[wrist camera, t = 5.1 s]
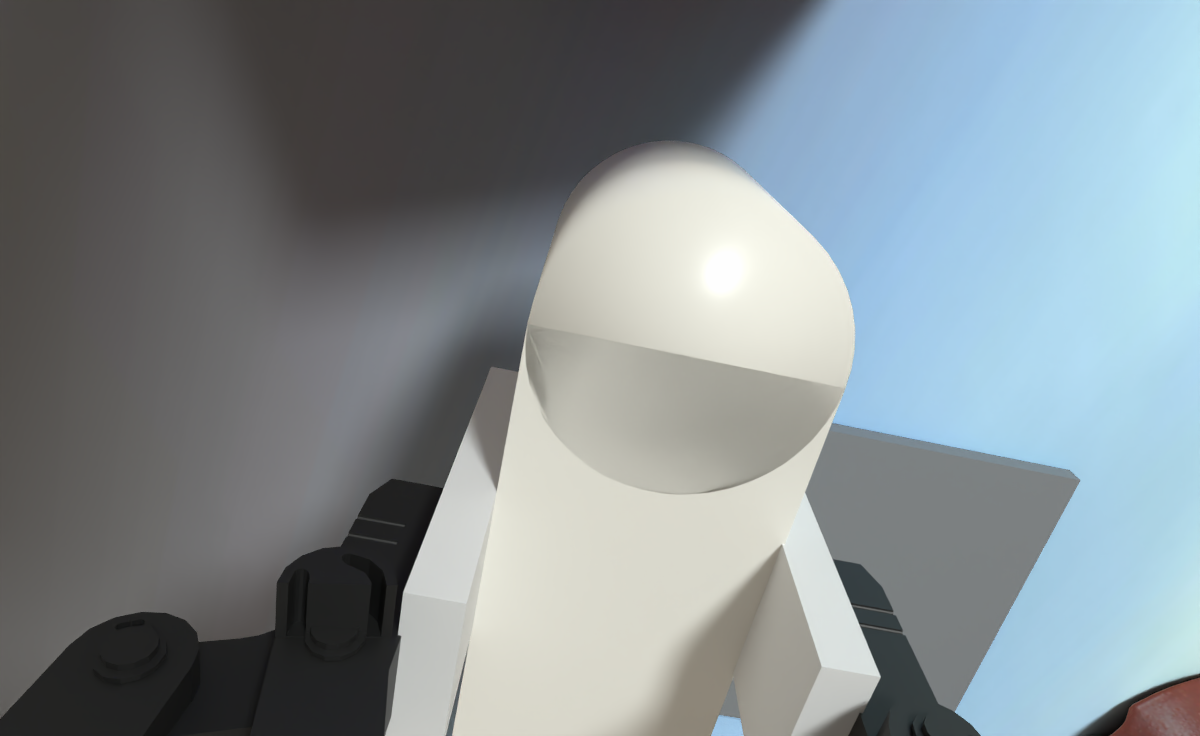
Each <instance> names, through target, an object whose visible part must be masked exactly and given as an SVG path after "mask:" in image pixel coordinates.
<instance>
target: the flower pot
mask: <svg viewBox="0 0 1200 736" xmlns="http://www.w3.org/2000/svg"><path fill="white" fill-rule="evenodd" d="M1110 736H1200V678H1196V679H1193V680H1190V681H1186V682H1183V683H1180V684H1177V685H1174V686H1171V687H1169V688H1166V689H1164V690H1161V691H1159V692H1156V693H1154V694H1152V695H1150V696H1148V697H1146V698H1144V699H1142V700H1140V701H1138V702H1136V703H1134V704H1133V705H1132V706H1131V707H1130V708H1129V710H1128V714H1127V717H1126V720H1125V722H1124V723H1123V724H1122V726H1121V727H1120V728H1118V729H1117V730H1116V731H1115V732H1114V733H1113V734H1111V735H1110Z"/></svg>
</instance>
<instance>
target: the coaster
mask: <svg viewBox="0 0 1200 736" xmlns="http://www.w3.org/2000/svg"><path fill="white" fill-rule="evenodd" d="M1079 482H1080V479H1078V478H1077V477H1076V476H1075V475H1074V474H1073V473H1072V472H1071V471H1070V470H1066V469H1061V468H1055V467H1050V466H1045V465H1040V464H1035V463H1030V462H1025V461H1020V460H1015V459H1010V458H1005V457H1000V456H995V455H990V454H985V453H980V452H975V451H970V450H965V449H960V448H955V447H949V446H944V445H939V444H934V443H929V442H924V441H919V440H914V439H909V438H904V437H899V436H894V435H889V434H884V433H879V432H874V431H869V430H864V429H859V428H854V427H849V426H843V425H838V424H833V423H832V424H831V427H830V429H829V432H828V434H827V437H826V439H825V442H824V445H823V447H822V450H821V452H820V455H819V458H818V460H817V463H816V465H815V468H814V470H813V473H812V476H811V478H810V481H809V483H808V486H807V489H806V491H805V494H806V496H807V499H808V501H809V503H810V506H811V508H812V511H813V513H814V516H815V518H816V520H817V523H818V525H819V528H820V530H821V533H822V535H823V537H824V540H825V542H826V545H827V547H828V550H829V552H830V555H831V557H832V559H835V560H841V561H846V562H851V563H857V564H861V565H862V566H863V567H864V568H865V569H866V570H867V571H868V572H869V573H870V575H871V576H872V577H873V578H874V579H875V580H876V581H877V582H878V583H879V584H880V585H881V586H882V588H883V590H884V592H885V594H886V596H887V598H888V600H889V602H890V604H891V606H892V608H893V610H894V611H893V615H896V617H897V619H898V621H899V623H900V625H901V627H902V629H903V635H906V637H907V640H908V642H909V644H910V646H911V648H912V650H913V652H914V654H915V656H916V658H917V660H918V662H919V664H920V667H921V669H922V671H923V673H924V675H925V677H926V679H927V681H928V683H929V685H930V687H931V689H932V691H933V694H934V696H935V698H936V700H937V702H938V704H940V705H942V706H944V707H946V708H948V709H950V710H952V711H954V712H955V710H956V708H957V706H958V704H959V703H960V701H961V699H962V697H963V695H964V693H965V692H966V690H967V688H968V686H969V684H970V682H971V681H972V679H973V677H974V675H975V673H976V671H977V670H978V668H979V666H980V664H981V662H982V660H983V658H984V657H985V655H986V653H987V651H988V649H989V647H990V646H991V644H992V642H993V640H994V638H995V636H996V635H997V633H998V631H999V629H1000V627H1001V625H1002V624H1003V622H1004V620H1005V618H1006V616H1007V614H1008V612H1009V611H1010V609H1011V607H1012V605H1013V603H1014V601H1015V600H1016V598H1017V596H1018V594H1019V592H1020V590H1021V589H1022V587H1023V585H1024V583H1025V581H1026V579H1027V578H1028V576H1029V574H1030V572H1031V570H1032V568H1033V566H1034V565H1035V563H1036V561H1037V559H1038V557H1039V555H1040V554H1041V552H1042V550H1043V548H1044V546H1045V544H1046V543H1047V541H1048V539H1049V537H1050V535H1051V533H1052V532H1053V530H1054V528H1055V526H1056V524H1057V522H1058V520H1059V519H1060V517H1061V515H1062V513H1063V511H1064V509H1065V508H1066V506H1067V504H1068V502H1069V500H1070V498H1071V497H1072V495H1073V493H1074V491H1075V489H1076V487H1077V486H1078V484H1079ZM719 715H724V716H730V717H736V718H741V717H740V712H739V706H738V701H737V695H736V689H735V684H734V678H733V680H732V682H731V685H730V687H729V690H728V692H727V695H726V698H725V700H724V703H723V705H722V708H721V711H720V713H719Z"/></svg>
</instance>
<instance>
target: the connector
mask: <svg viewBox="0 0 1200 736" xmlns="http://www.w3.org/2000/svg"><path fill="white" fill-rule="evenodd" d="M854 350H855V325H854V317H853V309H852V305H851V302H850V298H849V294H848V291H847V288H846V286H845V284H844V281H843V279H842V277H841V274H840V272H839V270H838V269H837V267H836V265H835V264H834V262H833V261H832V259H831V258H830V256H829V254H828V253H827V252H826V251H825V249H824V248H823V247H822V246H821V245H820V244H819V243H818V241H817V240H816V239H815V238H814V237H813V236H812V235H811V234H810V233H809V232H808V231H807V230H806V229H805V228H804V227H803V226H802V225H801V224H800V223H799V222H798V221H797V220H796V219H795V218H794V217H793V216H792V215H791V214H789V213H788V212H787V211H786V210H785V209H784V208H783V207H782V206H781V205H780V204H779V203H778V202H777V201H776V200H775V199H774V198H773V197H772V196H771V195H770V194H769V193H768V192H767V191H766V190H765V189H764V188H763V187H762V186H761V185H760V184H759V183H757V182H756V181H755V180H754V179H753V178H752V177H751V176H750V175H749V174H748V173H747V172H746V171H745V170H744V169H743V168H741V167H740V166H739V165H738V164H737V163H736V162H734V161H733V160H731V159H730V158H728V157H726V156H725V155H723V154H721V153H719V152H717V151H715V150H713V149H711V148H708V147H705V146H702V145H698V144H695V143H690V142H683V141H655V142H647V143H643V144H639V145H635V146H632V147H629V148H627V149H624V150H622V151H619V152H617V153H615V154H614V155H612V156H610V157H608V158H607V159H605V160H603V161H602V162H601V163H599V164H598V165H597V166H596V167H594V168H593V169H592V170H591V171H590V172H589V173H588V174H587V175H586V176H585V177H584V178H583V179H582V180H581V181H580V182H579V183H578V185H577V186H576V187H575V189H574V190H573V191H572V193H571V194H570V196H569V198H568V200H567V201H566V203H565V205H564V207H563V209H562V212H561V214H560V217H559V219H558V222H557V226H556V229H555V232H554V235H553V239H552V242H551V245H550V249H549V252H548V255H547V258H546V262H545V265H544V268H543V271H542V275H541V278H540V281H539V284H538V288H537V291H536V294H535V297H534V301H533V304H532V308H531V312H530V316H529V320H528V323H527V329H526V334H525V340H524V345H523V351H522V356H521V362H520V367H519V373H518V378H517V384H516V389H515V395H514V400H513V405H512V411H511V416H510V422H509V427H508V433H507V438H506V444H505V449H504V455H503V460H502V466H501V471H500V477H499V482H498V488H497V493H496V499H495V504H494V510H493V516H492V521H491V527H490V532H489V538H488V544H487V549H486V555H485V560H484V566H483V572H482V577H481V583H480V588H479V594H478V600H477V605H476V611H475V616H474V622H473V628H472V632H471V636H470V641H469V646H468V652H467V657H466V663H465V668H464V674H463V679H462V685H461V690H460V696H459V701H458V706H457V712H456V717H455V723H454V728H453V734H452V736H711V734H712V731H713V729H714V726H715V723H716V721H717V718H718V716H719V713H720V711H721V708H722V705H723V703H724V700H725V698H726V695H727V692H728V690H729V687H730V685H731V682H732V680H733V672H734V669H735V666H736V664H737V661H738V658H739V656H740V653H741V651H742V648H743V645H744V643H745V640H746V637H747V635H748V632H749V630H750V627H751V624H752V622H753V619H754V616H755V614H756V611H757V609H758V606H759V603H760V601H761V598H762V596H763V593H764V590H765V588H766V585H767V582H768V580H769V577H770V575H771V572H772V569H773V567H774V564H775V561H776V559H777V556H778V554H779V551H780V548H781V546H782V544H785V543H786V540H787V538H788V535H789V532H790V530H791V527H792V525H793V522H794V519H795V517H796V514H797V512H798V509H799V507H800V504H801V501H802V499H803V496H804V494H805V491H806V489H807V486H808V483H809V481H810V478H811V476H812V473H813V470H814V468H815V465H816V463H817V460H818V458H819V455H820V452H821V450H822V447H823V445H824V442H825V439H826V437H827V434H828V432H829V429H830V427H831V424H832V421H833V419H834V416H835V414H836V411H837V408H838V406H839V403H840V401H841V398H842V396H843V393H844V390H845V388H846V385H847V381H848V378H849V375H850V372H851V368H852V362H853V356H854Z"/></svg>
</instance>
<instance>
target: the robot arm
mask: <svg viewBox="0 0 1200 736" xmlns="http://www.w3.org/2000/svg"><path fill="white" fill-rule="evenodd" d="M518 373H519V372H517V371H512V370H506V369H501V368H496V367H491V368H490V371H489V373H488V376H487V378H486V381H485V384H484V386H483V389H482V391H481V394H480V396H479V399H478V402H477V404H476V407H475V409H474V412H473V414H472V417H471V420H470V422H469V425H468V427H467V430H466V432H465V435H464V438H463V440H462V443H461V445H460V448H459V450H458V453H457V456H456V458H455V461H454V463H453V466H452V468H451V471H450V474H449V476H448V479H447V481H446V484H445V486H444V488H439V487H433V486H428V485H423V484H417V483H412V482H406V481H401V480H396V479H391V480H389V481H388V482H387V483H385V484H384V485H382V486H381V487H379V488H378V489H377V490H375V491H374V492H372V493H371V494H369V496H368V498H367V500H366V502H365V504H364V505H363V507H362V509H361V511H360V513H359V515H358V518H357V519H356V520H355V522H354V524H353V526H352V527H351V529H350V531H349V534H348V537H346V538H345V540H344V542H343V544H342V546H341V547H333V548H322V549H320V550H317V551H314V552H311V553H308V554H305V555H302V556H301V557H299V558H298V559H297V560H295V561H294V562H293V563H291V564H290V565H289V566H287V567H286V568H285V570H284V571H283V573H282V575H281V577H280V578H279V580H278V582H277V595H276V626H275V630H274V631H271V632H268V633H265V634H262V635H259V636H253V637H247V638H241V639H230V640H218V641H207V642H198V637H197V632H196V631H195V630H194V629H193V628H192V627H191V626H190V625H189V624H188V623H187V622H186V621H185V620H183V619H181V618H178V617H175V616H172V615H170V614H167V613H152V612H140V613H135V614H130V615H125V616H120V617H115V618H113V619H111V620H108V621H106V622H104V623H102V624H100V625H97V626H95V627H93V628H91V629H89V630H88V631H87V632H85V633H84V634H83V635H82V636H80V637H79V638H78V639H76V640H75V641H74V642H73V643H71V644H70V645H69V646H68V647H67V648H66V649H65V650H64V651H63V653H62V654H61V655H60V656H59V657H58V658H57V659H56V660H55V661H54V662H53V663H52V664H51V665H50V666H49V668H48V669H47V670H46V671H45V672H44V673H43V674H42V675H41V676H40V677H39V678H38V679H37V680H36V681H35V683H34V684H33V685H32V686H31V687H30V688H29V689H28V690H27V691H26V692H25V693H24V694H23V695H22V696H21V698H20V699H19V700H18V701H17V702H16V703H15V704H14V705H13V706H12V707H11V708H10V709H9V710H8V711H7V712H6V714H5V715H4V716H3V717H2V718H1V719H0V736H446V733H447V729H448V725H449V721H450V717H451V713H452V709H453V705H454V701H455V697H456V693H457V689H458V685H459V681H460V677H461V673H462V668H463V664H464V660H465V656H466V652H467V648H468V644H469V640H470V636H471V632H472V628H473V622H474V616H475V611H476V605H477V600H478V594H479V588H480V583H481V577H482V572H483V566H484V560H485V555H486V549H487V544H488V538H489V532H490V527H491V521H492V516H493V510H494V504H495V499H496V493H497V488H498V482H499V477H500V471H501V466H502V460H503V455H504V449H505V444H506V438H507V433H508V427H509V422H510V416H511V411H512V405H513V400H514V395H515V389H516V384H517V378H518ZM893 611H894V610H893V608H892V606H891V604H890V602H889V600H888V598H887V596H886V594H885V592H884V590H883V588H882V586H881V585H880V584H879V583H878V582H877V581H876V580H875V579H874V578H873V577H872V576H871V575H870V573H869V572H868V571H867V570H866V569H865V568H864V567H863V566H862V565H861V564H857V563H851V562H846V561H841V560H835V559H832V557H831V555H830V552H829V550H828V547H827V545H826V542H825V540H824V537H823V535H822V533H821V530H820V528H819V525H818V523H817V520H816V518H815V516H814V513H813V511H812V508H811V506H810V503H809V501H808V499H807V496H806V494H804V496H803V499H802V501H801V504H800V507H799V509H798V512H797V514H796V517H795V519H794V522H793V525H792V527H791V530H790V532H789V535H788V538H787V540H786V543H785V544H782V546H781V548H780V551H779V554H778V556H777V559H776V561H775V564H774V567H773V569H772V572H771V575H770V577H769V580H768V582H767V585H766V588H765V590H764V593H763V596H762V598H761V601H760V603H759V606H758V609H757V611H756V614H755V616H754V619H753V622H752V624H751V627H750V630H749V632H748V635H747V637H746V640H745V643H744V645H743V648H742V651H741V653H740V656H739V658H738V661H737V664H736V666H735V669H734V672H733V678H734V684H735V689H736V695H737V701H738V706H739V712H740V717H741V723H742V729H743V734H744V736H981V735H980V734H979V733H978V732H977V731H976V730H975V729H974V727H973V726H972V725H971V724H970V723H968V722H967V721H966V720H964V719H963V718H962V717H960V716H959V715H958V714H956V713H955V712H954V711H952V710H950V709H948V708H946V707H944V706H942V705H940V704H938V702H937V700H936V698H935V696H934V694H933V691H932V689H931V687H930V685H929V683H928V681H927V679H926V677H925V675H924V673H923V671H922V669H921V667H920V664H919V662H918V660H917V658H916V656H915V654H914V652H913V650H912V648H911V646H910V644H909V642H908V640H907V637H906V635H903V629H902V627H901V625H900V623H899V621H898V619H897V617H896V615H893ZM385 734H386V735H385Z"/></svg>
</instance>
